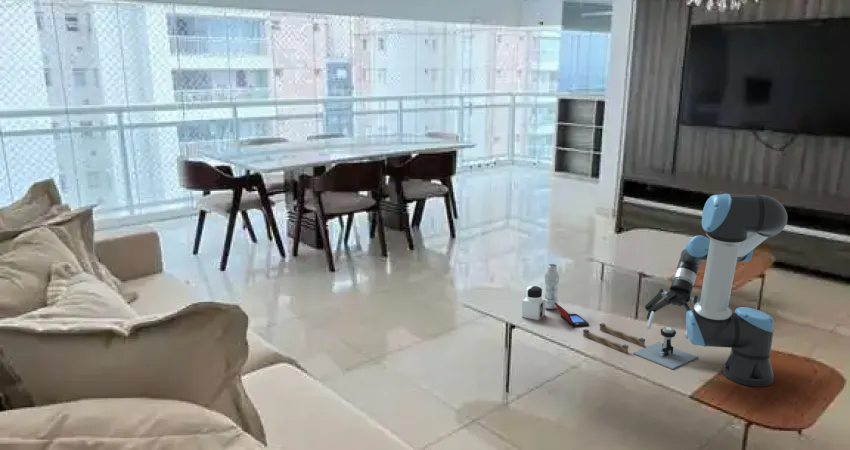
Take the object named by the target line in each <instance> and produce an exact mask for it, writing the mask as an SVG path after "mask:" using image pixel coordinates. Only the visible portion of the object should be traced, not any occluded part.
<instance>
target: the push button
mask: <svg viewBox="0 0 850 450" xmlns="http://www.w3.org/2000/svg"><path fill="white" fill-rule="evenodd" d="M659 332H660V335H661V336H662V337H663V342H662V343H663V345H662V347H663V348H661V352H660V353H661V355H660V356H667V355H671V354H672V353H673V348H674V346H673V345H672V338H675V336H676V334H677V331H676V330H675V329H674V328H673V327H672V326H663V328H661V329H660V330H659Z"/></svg>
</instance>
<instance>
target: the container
mask: <svg viewBox="0 0 850 450" xmlns="http://www.w3.org/2000/svg"><path fill="white" fill-rule="evenodd" d="M525 292H526V295H525V296H526V297H525V298H524V299H522V300H521V301H522V302H521V317H522V318H526V319H529V320H535V321H539V320H540V319H542V318H543V317H544V316H546V315H545V314H546V308H545V297H542V296H543V289H542V287H539V286H538V285H530V286H527V288H526V290H525Z"/></svg>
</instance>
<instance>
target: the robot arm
mask: <svg viewBox="0 0 850 450" xmlns="http://www.w3.org/2000/svg"><path fill="white" fill-rule="evenodd" d="M787 223H788V212H787V211H786V208H785V207H784V205H783V204H782V203H781V202H780V201H779V200H778V199H776V198H774V197H771V196H768V195H764V194H730V193H723V194H713V195H710V196H709V198H707V200H706V202H705V203H704V207H703V209H702V214H701V227H702V229H703V230H704V231H705V234H706V235H705V236H704V235H694V236H693V237H692V238H691V239H690V240H689V241H688V243H687V245H685V246H684V247H683V249H682V251H681V253H680V257H679V261H678V264H677V266H676V269H675V272H674V274H673V275H674V276H673V277H672V278H673V279H672V281H671V284H670V287H669V290H668V291H666V290H664V289H663V288H660V289H659V290H658V293H657V294H656V295H655V296H654V297H653V298H652V299H651V300H650V301H649V302H647V303H646V304H645V306H644V308H645V311H647V314H646V320H647V323H646V328H647V330H648V331H649V330H651V327H652V326H653V325H652V324H653V322H654V318H655V316H656V312H658V311H660V310H661V309H662V308H664V307H666V306H669V305H670V304H671V305H672V306H678V307H682V306H683V307H684V309H685V310H686V313H685V325H686V329H685V332H684V337H685V339H687V340H688V339H689V341H690V342H691V344H692V345H694V346H700V347H712V348H713V347H715V348H716V347H717V348H731V349H730V353H729V354H728V357H727V358H726V360H725V362H724V364H723V368H722V369H723V370H722V374H723V375H724V376H725V377H726V378H728V379H729V380H731V381H732V382H735V383H737V384H740V385H743V386H744V385H745V386H749V387H757V388H758V387H760V388H761V387H767V386H771V384H773V383H774V371H773V367H772V363H771V351H772V345H773V337H774V332H775V330H774V329H775V328H774V327H775V321H774V319H773V317H772V316H771V315H769V314H768V313H766V312H764V311H763V310H758V309H755V308H751V307H746V306H741V307H740V306H739V307H737V308H736V309H735V310H734V312H733V311H732V309H730V307H729V304H730V298H731V293H732V288H733V282H734V277H735V272H736V266H737V263H747V262H750V261H751V260H752V257H753V253H754V249H756V248H757V247H758V246H760V244H761V243H763V242H765V240H767V239H768V238H772V237H776V236H777V235H778V234H780V233H781V232H782V231H783V230H784V229H785V228H786V226H787ZM706 236H707V237H706ZM704 261H706V263H705V267H704V268H705V269H704V275H703V281H702V288H701V293H700V299H699V298H698V297H699V296H697V295H694V296H691V294H692V291H693V287H694V286H695V283H696V282H695V281H696V280H697V276H698V273H699V269H700V267H701V264H702V263H703V262H704ZM665 296H666V297H665ZM662 298H664V299H662ZM690 301H691V303H693V309H691V308H690V306H689V304H688V302H690Z"/></svg>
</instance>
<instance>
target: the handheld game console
mask: <svg viewBox="0 0 850 450" xmlns="http://www.w3.org/2000/svg"><path fill="white" fill-rule="evenodd" d="M555 305H556V307H557V308H556V309H557V310H558V312H559V314H560V318H561V319H563V321H565V322H567V323H568V324H569V326H571V327H572V328H580V327H588V326H589V325H590V323H589V322H588V321H587V320H585V319H584V318H583V317H581V316H580V315H579V314H578V313H568V311H567V310H566V309H565V308H564V307H562V306H561V305H559V303H558V304H557V303H556V302H555Z"/></svg>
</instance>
